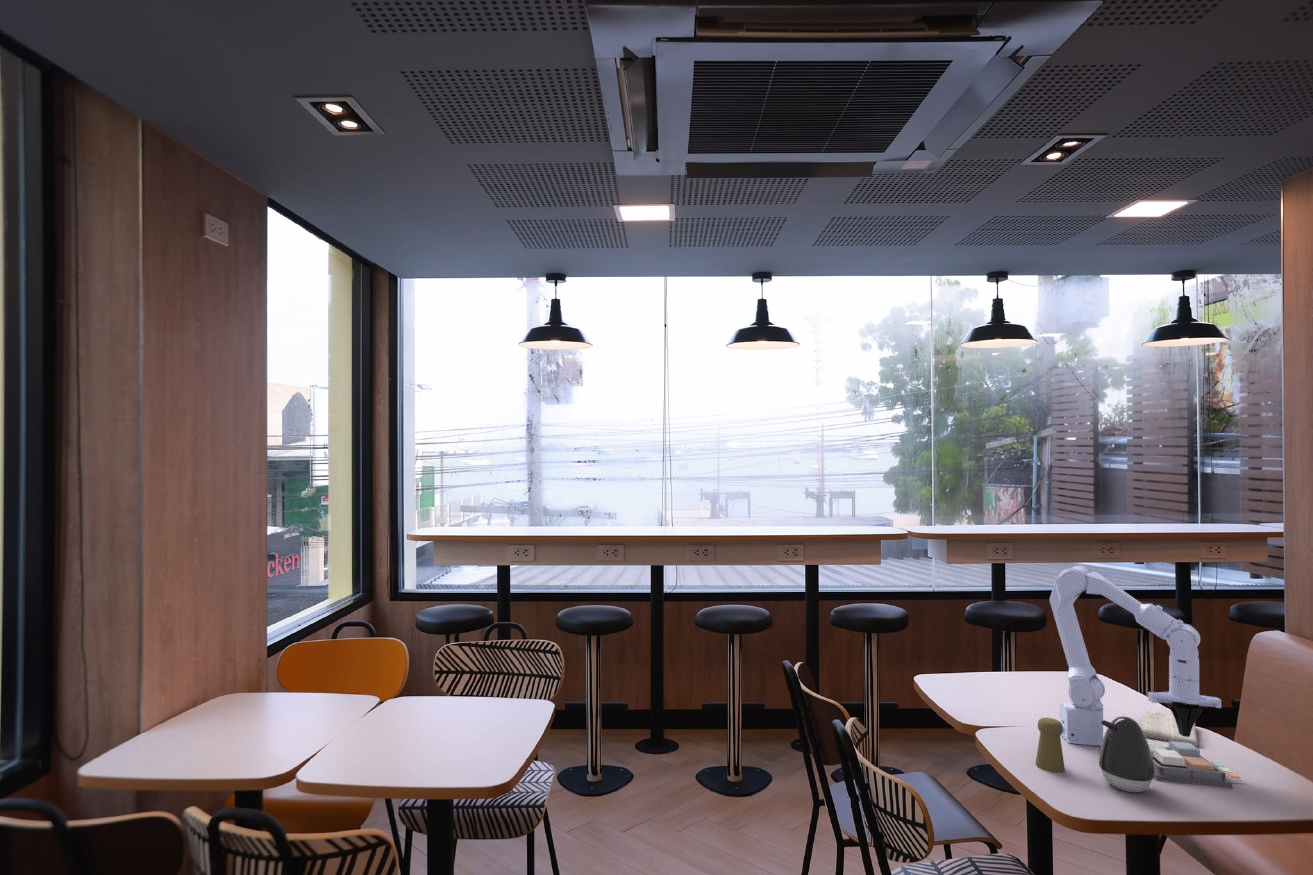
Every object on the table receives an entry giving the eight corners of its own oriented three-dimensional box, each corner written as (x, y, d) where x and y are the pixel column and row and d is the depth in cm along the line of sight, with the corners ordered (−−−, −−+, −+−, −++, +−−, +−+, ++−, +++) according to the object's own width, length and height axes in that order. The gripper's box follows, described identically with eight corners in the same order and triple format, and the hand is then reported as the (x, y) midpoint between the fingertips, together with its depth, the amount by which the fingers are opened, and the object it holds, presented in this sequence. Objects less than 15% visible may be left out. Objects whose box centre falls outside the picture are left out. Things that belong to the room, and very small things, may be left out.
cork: (1061, 763, 166) (1061, 716, 166) (1067, 774, 160) (1067, 725, 160) (1033, 759, 168) (1033, 713, 168) (1038, 770, 162) (1038, 721, 162)
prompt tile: (1231, 782, 158) (1231, 777, 158) (1208, 765, 166) (1208, 760, 166) (1243, 783, 157) (1243, 778, 157) (1219, 766, 166) (1219, 761, 166)
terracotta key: (1192, 772, 159) (1192, 764, 159) (1182, 763, 163) (1182, 756, 163) (1214, 774, 158) (1214, 766, 158) (1203, 765, 162) (1203, 758, 162)
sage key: (1149, 758, 166) (1149, 750, 166) (1141, 750, 170) (1141, 743, 170) (1170, 760, 165) (1170, 752, 165) (1161, 752, 169) (1161, 745, 169)
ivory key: (1162, 764, 160) (1162, 756, 160) (1153, 756, 164) (1153, 748, 164) (1184, 766, 159) (1184, 758, 159) (1174, 758, 163) (1174, 750, 163)
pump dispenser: (1088, 775, 160) (1088, 708, 160) (1134, 777, 159) (1134, 709, 160) (1116, 797, 149) (1116, 725, 150) (1165, 798, 149) (1165, 726, 149)
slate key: (1178, 756, 164) (1178, 748, 165) (1168, 748, 169) (1168, 740, 169) (1199, 758, 164) (1199, 750, 164) (1189, 750, 168) (1189, 742, 168)
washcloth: (1194, 728, 191) (1194, 717, 191) (1199, 750, 176) (1199, 737, 176) (1141, 718, 198) (1141, 707, 198) (1142, 738, 183) (1142, 726, 183)
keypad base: (1156, 779, 158) (1156, 768, 158) (1126, 752, 173) (1126, 742, 173) (1232, 787, 155) (1232, 775, 155) (1195, 759, 170) (1195, 748, 170)
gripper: (1158, 679, 164) (1158, 738, 164) (1228, 684, 161) (1229, 744, 161) (1143, 671, 171) (1143, 727, 171) (1211, 675, 168) (1211, 733, 168)
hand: (1184, 735), depth 166 cm, fingers closed
